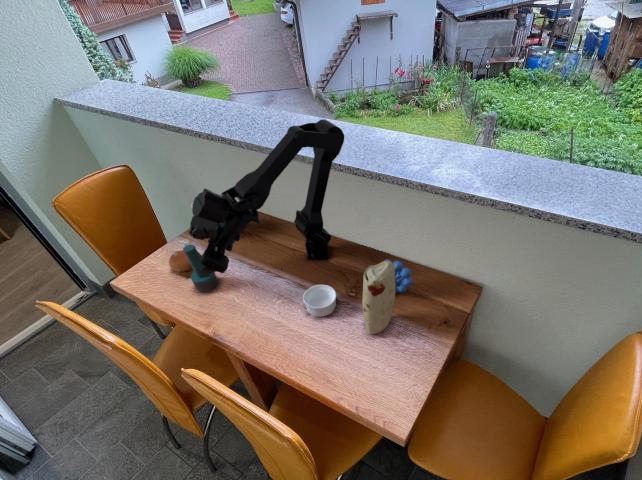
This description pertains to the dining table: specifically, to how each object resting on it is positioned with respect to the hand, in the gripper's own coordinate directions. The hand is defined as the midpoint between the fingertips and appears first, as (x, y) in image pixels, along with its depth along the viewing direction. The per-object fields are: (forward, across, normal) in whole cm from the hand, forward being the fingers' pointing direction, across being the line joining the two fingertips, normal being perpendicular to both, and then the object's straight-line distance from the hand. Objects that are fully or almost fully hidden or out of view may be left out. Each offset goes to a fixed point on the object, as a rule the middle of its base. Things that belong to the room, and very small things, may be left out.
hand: (204, 263), depth 96 cm
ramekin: (-16, +15, +28) cm, 35 cm away
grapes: (-30, +12, +43) cm, 54 cm away
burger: (+12, -9, -1) cm, 15 cm away
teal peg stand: (+7, 0, +4) cm, 8 cm away
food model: (-26, +24, +38) cm, 52 cm away
